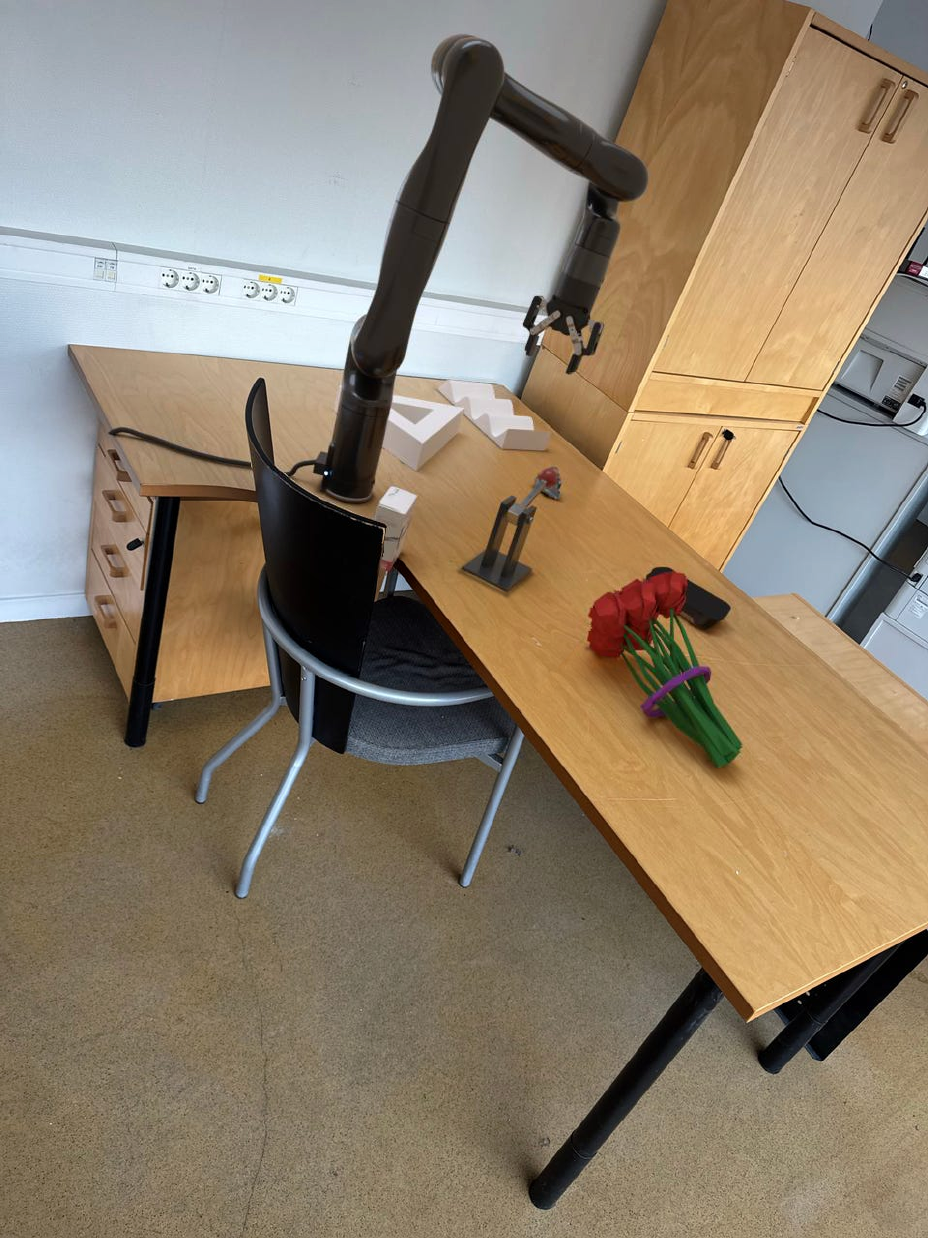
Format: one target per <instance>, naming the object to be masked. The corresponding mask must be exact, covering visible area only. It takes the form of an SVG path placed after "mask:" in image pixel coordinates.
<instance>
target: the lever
mask: <svg viewBox="0 0 928 1238" xmlns="http://www.w3.org/2000/svg"><path fill="white" fill-rule="evenodd" d="M557 480H558V476H557V473H556V472H555V470H553V469H551V467H546V468H544V469H542V470H541V471H540V472H539V483H538V484H537V485H536V486H535V488H534V487H533V488H532V490H531V491H529V493H528V494H527V495H526V496H525V498H523V499H522V501H520V503H519V502H516V501H515V503H514V504H513V505H512V506H511V507H510V509H509V510H508V512H507V517H506V521H507V522H508V524H512V525H514V526H516V527H517V525H518V522H519V519H520V516H521V513H522V512H523V511H524V510H526V509H527V508H528V507H530V506H531V505H532V502H533V501H535V500H536V498H537V497H538V496H539V495H540V494H541V492H542V490H543V489H544V488H545V487H552V486H554V485H555V484H556V482H557Z"/></svg>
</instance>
